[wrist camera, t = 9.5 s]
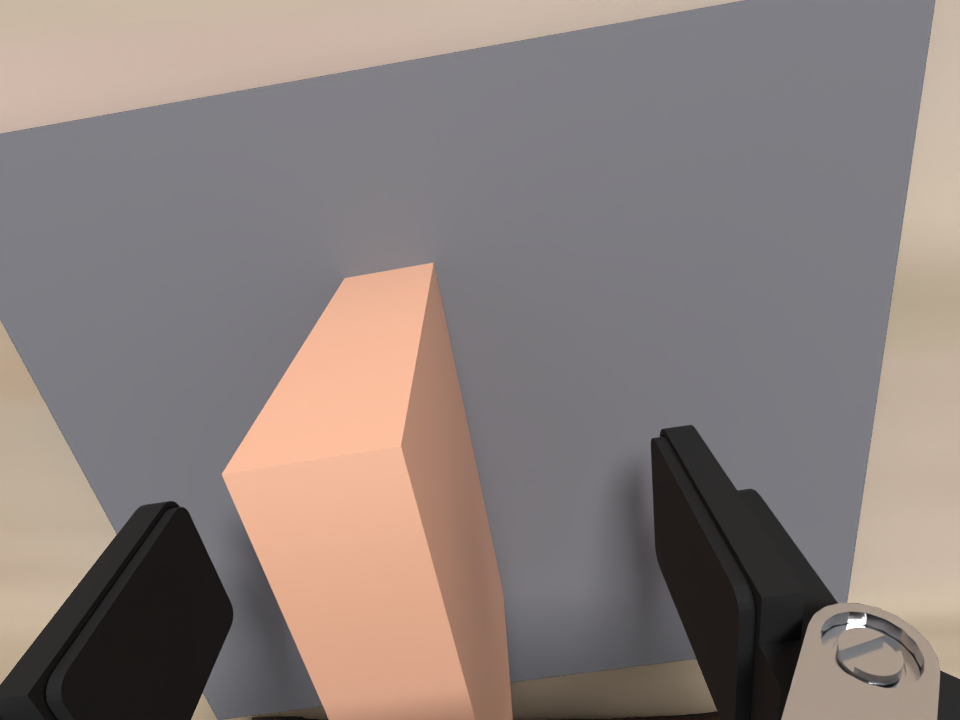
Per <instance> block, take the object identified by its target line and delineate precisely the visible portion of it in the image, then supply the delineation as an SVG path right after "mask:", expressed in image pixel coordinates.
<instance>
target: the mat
mask: <svg viewBox="0 0 960 720" xmlns="http://www.w3.org/2000/svg"><path fill="white" fill-rule="evenodd" d="M934 6H935V0H744V1H739V2H733V3H728V4H722V5H716V6H711V7H705V8H700V9H694V10H689V11H683V12H677V13H672V14H666V15H661V16H655V17H649V18H644V19H638V20H633V21H627V22H622V23H616V24H610V25H605V26H599V27H594V28H588V29H582V30H577V31H571V32H566V33H560V34H555V35H549V36H543V37H538V38H532V39H527V40H521V41H515V42H510V43H504V44H499V45H493V46H488V47H482V48H476V49H471V50H465V51H460V52H454V53H449V54H443V55H437V56H432V57H426V58H421V59H415V60H409V61H404V62H398V63H393V64H387V65H382V66H376V67H370V68H365V69H359V70H354V71H348V72H342V73H337V74H331V75H326V76H320V77H315V78H309V79H303V80H298V81H292V82H287V83H281V84H275V85H270V86H264V87H259V88H253V89H248V90H242V91H236V92H231V93H225V94H220V95H214V96H208V97H203V98H197V99H192V100H186V101H181V102H175V103H169V104H164V105H158V106H153V107H147V108H142V109H136V110H130V111H125V112H119V113H114V114H108V115H102V116H97V117H91V118H86V119H80V120H75V121H69V122H63V123H58V124H52V125H47V126H41V127H35V128H30V129H24V130H19V131H13V132H8V133H2V134H0V320H1V322H2V324H3V326H4V328H5V329H6V331H7V333H8V335H9V337H10V339H11V340H12V342H13V344H14V346H15V348H16V350H17V352H18V353H19V355H20V357H21V359H22V361H23V363H24V364H25V366H26V368H27V370H28V372H29V374H30V375H31V377H32V379H33V381H34V383H35V385H36V386H37V388H38V390H39V392H40V394H41V396H42V398H43V399H44V401H45V403H46V405H47V407H48V409H49V410H50V412H51V414H52V416H53V418H54V420H55V421H56V423H57V425H58V427H59V429H60V431H61V432H62V434H63V436H64V438H65V440H66V442H67V443H68V445H69V447H70V449H71V451H72V453H73V455H74V456H75V458H76V460H77V462H78V464H79V466H80V467H81V469H82V471H83V473H84V475H85V477H86V478H87V480H88V482H89V484H90V486H91V488H92V489H93V491H94V493H95V495H96V497H97V499H98V501H99V502H100V504H101V506H102V508H103V510H104V512H105V513H106V515H107V517H108V519H109V521H110V523H111V524H112V526H113V528H114V530H115V532H116V534H118V533H119V531H120V530H121V529H122V528H123V526H124V525H125V524H126V522H127V521H128V520H129V519H130V517H131V516H132V515H133V513H134V512H135V511H136V510H137V509H138V508H139V507H140V506H142V505H147V504H153V503H160V502H167V501H174V502H176V503H177V504H178V505H179V506H180V507H184V508H186V509H187V510H188V512H189V514H190V516H191V518H192V520H193V522H194V524H195V527H196V529H197V531H198V533H199V535H200V537H201V539H202V542H203V544H204V546H205V548H206V550H207V552H208V554H209V557H210V559H211V561H212V563H213V565H214V567H215V569H216V572H217V574H218V576H219V578H220V580H221V582H222V584H223V587H224V589H225V591H226V593H227V595H228V597H229V599H230V602H231V604H232V607H233V622H232V625H231V628H230V630H229V633H228V635H227V637H226V639H225V642H224V644H223V646H222V649H221V651H220V653H219V656H218V658H217V660H216V663H215V665H214V667H213V669H212V672H211V674H210V676H209V679H208V681H207V683H206V686H205V688H204V690H203V694H204V696H205V697H206V699H207V701H208V703H209V705H210V707H211V708H212V710H213V712H214V714H215V716H216V718H217V719H218V720H222V719H229V718H237V717H245V716H253V715H261V714H268V713H276V712H284V711H292V710H300V709H307V708H315V707H323V705H322V703H321V700H320V698H319V696H318V694H317V691H316V689H315V687H314V684H313V682H312V680H311V678H310V675H309V673H308V671H307V668H306V666H305V664H304V662H303V659H302V657H301V655H300V652H299V650H298V648H297V646H296V643H295V641H294V639H293V636H292V634H291V632H290V630H289V627H288V625H287V623H286V620H285V618H284V616H283V614H282V611H281V609H280V607H279V604H278V602H277V600H276V598H275V595H274V593H273V591H272V588H271V586H270V584H269V582H268V579H267V577H266V575H265V572H264V570H263V568H262V566H261V563H260V561H259V559H258V556H257V554H256V552H255V550H254V547H253V545H252V543H251V540H250V538H249V536H248V534H247V531H246V529H245V527H244V524H243V522H242V520H241V518H240V515H239V513H238V511H237V509H236V506H235V504H234V502H233V499H232V497H231V495H230V493H229V490H228V488H227V486H226V483H225V481H224V479H223V477H222V473H223V471H224V470H225V468H226V467H227V465H228V463H229V462H230V460H231V459H232V457H233V455H234V454H235V452H236V451H237V449H238V447H239V446H240V444H241V443H242V441H243V439H244V438H245V436H246V435H247V433H248V431H249V430H250V428H251V427H252V425H253V423H254V422H255V420H256V419H257V417H258V415H259V414H260V412H261V411H262V409H263V408H264V406H265V404H266V403H267V401H268V400H269V398H270V396H271V395H272V393H273V392H274V390H275V388H276V387H277V385H278V384H279V382H280V380H281V379H282V377H283V376H284V374H285V372H286V371H287V369H288V368H289V366H290V364H291V363H292V361H293V360H294V358H295V357H296V355H297V353H298V352H299V350H300V349H301V347H302V345H303V344H304V342H305V341H306V339H307V337H308V336H309V334H310V333H311V331H312V329H313V328H314V326H315V325H316V323H317V321H318V320H319V318H320V317H321V315H322V313H323V312H324V310H325V309H326V307H327V306H328V304H329V302H330V301H331V299H332V298H333V296H334V294H335V293H336V291H337V290H338V288H339V286H340V285H341V283H342V282H343V280H344V278H349V277H354V276H360V275H366V274H371V273H377V272H383V271H389V270H394V269H400V268H406V267H411V266H417V265H423V264H429V263H434V267H435V271H436V276H437V281H438V286H439V290H440V295H441V300H442V305H443V309H444V314H445V319H446V324H447V328H448V333H449V338H450V343H451V347H452V352H453V357H454V362H455V366H456V371H457V376H458V381H459V385H460V390H461V395H462V400H463V404H464V409H465V414H466V419H467V423H468V428H469V433H470V438H471V442H472V447H473V452H474V457H475V461H476V466H477V471H478V476H479V480H480V485H481V490H482V495H483V499H484V504H485V509H486V514H487V518H488V523H489V528H490V533H491V537H492V542H493V547H494V551H495V556H496V561H497V566H498V570H499V575H500V580H501V585H502V589H503V595H504V609H505V622H506V635H507V648H508V662H509V675H510V682H518V681H526V680H534V679H541V678H549V677H557V676H565V675H573V674H580V673H588V672H596V671H604V670H612V669H619V668H627V667H635V666H643V665H651V664H658V663H666V662H674V661H682V660H690V659H696V656H695V654H694V651H693V649H692V646H691V644H690V641H689V639H688V636H687V634H686V631H685V629H684V627H683V624H682V622H681V619H680V617H679V614H678V612H677V609H676V607H675V604H674V602H673V599H672V597H671V594H670V592H669V589H668V587H667V584H666V582H665V579H664V577H663V575H662V572H661V570H660V567H659V564H658V560H657V556H656V551H655V535H654V511H653V488H652V464H651V439H652V438H657V437H660V431H661V430H662V429H665V428H672V427H678V426H685V425H693V426H694V427H695V428H696V430H697V431H698V433H699V434H700V436H701V437H702V439H703V440H704V442H705V443H706V445H707V446H708V448H709V449H710V451H711V452H712V454H713V455H714V457H715V458H716V460H717V461H718V463H719V464H720V466H721V467H722V469H723V470H724V472H725V473H726V474H727V476H728V477H729V479H730V480H731V482H732V483H733V485H734V486H735V488H736V489H737V490H744V489H753V490H755V491H757V492H758V494H759V495H760V496H761V497H762V498H763V500H764V501H765V502H766V504H767V505H768V507H769V508H770V509H771V511H772V512H773V514H774V515H775V516H776V518H777V519H778V521H779V522H780V523H781V525H782V526H783V527H784V529H785V530H786V532H787V533H788V534H789V536H790V537H791V539H792V540H793V541H794V543H795V544H796V545H797V547H798V548H799V550H800V551H801V552H802V554H803V555H804V557H805V558H806V559H807V561H808V562H809V564H810V565H811V566H812V568H813V569H814V570H815V572H816V573H817V575H818V576H819V577H820V579H821V580H822V582H823V583H824V584H825V586H826V587H827V589H828V590H829V591H830V593H831V594H832V595H833V597H834V598H835V600H836V601H837V602H838V603H847V600H848V593H849V586H850V579H851V572H852V566H853V559H854V552H855V545H856V538H857V531H858V525H859V518H860V511H861V504H862V497H863V490H864V484H865V477H866V470H867V463H868V456H869V450H870V443H871V436H872V429H873V422H874V415H875V409H876V402H877V395H878V388H879V381H880V375H881V368H882V361H883V354H884V347H885V340H886V334H887V327H888V320H889V313H890V306H891V300H892V293H893V286H894V279H895V272H896V265H897V259H898V252H899V245H900V238H901V231H902V225H903V218H904V211H905V204H906V197H907V190H908V184H909V177H910V170H911V163H912V156H913V149H914V143H915V136H916V129H917V122H918V115H919V109H920V102H921V95H922V88H923V81H924V74H925V68H926V61H927V54H928V47H929V40H930V34H931V27H932V20H933V13H934Z"/></svg>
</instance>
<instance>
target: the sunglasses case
mask: <svg viewBox="0 0 960 720" xmlns="http://www.w3.org/2000/svg"><path fill="white" fill-rule="evenodd" d="M252 720H317V719H307V718H303V717H279V718H267V719H260V718H252ZM568 720H721V718H720V716H719V713H718V712H711V713H703V714H691V715H679V716H654V717H634V718H612V719H568Z"/></svg>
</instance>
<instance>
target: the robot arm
mask: <svg viewBox="0 0 960 720" xmlns="http://www.w3.org/2000/svg"><path fill="white" fill-rule="evenodd" d="M651 464H652V488H653V511H654V535H655V551H656V556H657V560H658V564H659V567H660V570H661V572H662V575H663V577H664V579H665V582H666V584H667V587H668V589H669V592H670V594H671V597H672V599H673V602H674V604H675V607H676V609H677V612H678V614H679V617H680V619H681V622H682V624H683V627H684V629H685V631H686V634H687V636H688V639H689V641H690V644H691V646H692V649H693V651H694V654H695V656H696V659H697V661H698V664H699V666H700V669H701V671H702V674H703V676H704V679H705V681H706V683H707V686H708V688H709V691H710V693H711V696H712V698H713V701H714V703H715V706H716V708H717V711H718V713H719V716H720V718H721V720H960V679H958V678H956V677H954V676H951V675H949V674H947V673H944V672H942V671H940V668H939V662H938V657H937V655H936V654H935V652H934V650H933V648H932V647H931V645H930V643H929V642H928V641H927V640H926V639H925V638H924V637H923V636H922V635H921V634H920V633H919V632H918V631H917V630H916V629H915V628H914V627H913V626H911V625H910V624H908V623H907V622H905V621H904V620H902V619H901V618H899V617H898V616H896V615H894V614H891V613H889V612H887V611H884V610H882V609H880V608H877V607H873V606H868V605H864V604H859V603H838V602H837V601H836V600H835V598H834V597H833V595H832V594H831V593H830V591H829V590H828V589H827V587H826V586H825V584H824V583H823V582H822V580H821V579H820V577H819V576H818V575H817V573H816V572H815V570H814V569H813V568H812V566H811V565H810V564H809V562H808V561H807V559H806V558H805V557H804V555H803V554H802V552H801V551H800V550H799V548H798V547H797V545H796V544H795V543H794V541H793V540H792V539H791V537H790V536H789V534H788V533H787V532H786V530H785V529H784V527H783V526H782V525H781V523H780V522H779V521H778V519H777V518H776V516H775V515H774V514H773V512H772V511H771V509H770V508H769V507H768V505H767V504H766V502H765V501H764V500H763V498H762V497H761V496H760V495H759V494H758V492H757V491H755V490H753V489H744V490H737V489H736V488H735V486H734V485H733V483H732V482H731V480H730V479H729V477H728V476H727V474H726V473H725V472H724V470H723V469H722V467H721V466H720V464H719V463H718V461H717V460H716V458H715V457H714V455H713V454H712V452H711V451H710V449H709V448H708V446H707V445H706V443H705V442H704V440H703V439H702V437H701V436H700V434H699V433H698V431H697V430H696V428H695V427H694V426H693V425H685V426H678V427H672V428H665V429H662V430H661V431H660V437H657V438H652V439H651ZM232 622H233V607H232V604H231V602H230V599H229V597H228V595H227V593H226V591H225V589H224V587H223V584H222V582H221V580H220V578H219V576H218V574H217V572H216V569H215V567H214V565H213V563H212V561H211V559H210V557H209V554H208V552H207V550H206V548H205V546H204V544H203V542H202V539H201V537H200V535H199V533H198V531H197V529H196V527H195V524H194V522H193V520H192V518H191V516H190V514H189V512H188V510H187V509H186V508H184V507H180V506H179V505H178V504H177V503H176V502H174V501H167V502H160V503H153V504H147V505H142V506H140V507H139V508H138V509H137V510H136V511H135V512H134V513H133V515H132V516H131V517H130V519H129V520H128V521H127V522H126V524H125V525H124V526H123V528H122V529H121V530H120V531H119V533H118V534H117V535H116V537H115V538H114V539H113V540H112V542H111V543H110V544H109V546H108V547H107V548H106V550H105V551H104V552H103V553H102V555H101V556H100V557H99V559H98V560H97V561H96V562H95V564H94V565H93V566H92V568H91V569H90V570H89V571H88V573H87V574H86V575H85V577H84V578H83V579H82V580H81V582H80V583H79V584H78V586H77V587H76V588H75V589H74V591H73V592H72V593H71V595H70V596H69V597H68V598H67V600H66V601H65V602H64V604H63V605H62V606H61V607H60V609H59V610H58V611H57V613H56V614H55V615H54V617H53V618H52V619H51V620H50V622H49V623H48V624H47V626H46V627H45V628H44V629H43V631H42V632H41V633H40V635H39V636H38V637H37V638H36V640H35V641H34V642H33V644H32V645H31V646H30V647H29V649H28V650H27V651H26V653H25V654H24V655H23V656H22V658H21V659H20V660H19V662H18V663H17V664H16V665H15V667H14V668H13V669H12V671H11V672H10V673H9V675H8V676H7V677H6V678H5V680H4V681H3V682H2V684H1V685H0V720H191V718H192V716H193V713H194V711H195V709H196V706H197V704H198V702H199V699H200V697H201V695H202V693H203V690H204V688H205V686H206V683H207V681H208V679H209V676H210V674H211V672H212V669H213V667H214V665H215V663H216V660H217V658H218V656H219V653H220V651H221V649H222V646H223V644H224V642H225V639H226V637H227V635H228V633H229V630H230V628H231V625H232Z"/></svg>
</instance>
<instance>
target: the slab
mask: <svg viewBox="0 0 960 720" xmlns="http://www.w3.org/2000/svg"><path fill="white" fill-rule="evenodd" d="M222 477H223V479H224V481H225V483H226V486H227V488H228V490H229V493H230V495H231V497H232V499H233V502H234V504H235V506H236V509H237V511H238V513H239V515H240V518H241V520H242V522H243V524H244V527H245V529H246V531H247V534H248V536H249V538H250V540H251V543H252V545H253V547H254V550H255V552H256V554H257V556H258V559H259V561H260V563H261V566H262V568H263V570H264V572H265V575H266V577H267V579H268V582H269V584H270V586H271V588H272V591H273V593H274V595H275V598H276V600H277V602H278V604H279V607H280V609H281V611H282V614H283V616H284V618H285V620H286V623H287V625H288V627H289V630H290V632H291V634H292V636H293V639H294V641H295V643H296V646H297V648H298V650H299V652H300V655H301V657H302V659H303V662H304V664H305V666H306V668H307V671H308V673H309V675H310V678H311V680H312V682H313V684H314V687H315V689H316V691H317V694H318V696H319V698H320V700H321V703H322V705H323V707H324V710H325V712H326V714H327V716H328V719H329V720H513V715H512V702H511V688H510V675H509V662H508V648H507V635H506V622H505V609H504V595H503V589H502V585H501V580H500V575H499V570H498V566H497V561H496V556H495V551H494V547H493V542H492V537H491V533H490V528H489V523H488V518H487V514H486V509H485V504H484V499H483V495H482V490H481V485H480V480H479V476H478V471H477V466H476V461H475V457H474V452H473V447H472V442H471V438H470V433H469V428H468V423H467V419H466V414H465V409H464V404H463V400H462V395H461V390H460V385H459V381H458V376H457V371H456V366H455V362H454V357H453V352H452V347H451V343H450V338H449V333H448V328H447V324H446V319H445V314H444V309H443V305H442V300H441V295H440V290H439V286H438V281H437V276H436V271H435V267H434V263H429V264H423V265H417V266H411V267H406V268H400V269H394V270H389V271H383V272H377V273H371V274H366V275H360V276H354V277H349V278H344V280H343V282H342V283H341V285H340V286H339V288H338V290H337V291H336V293H335V294H334V296H333V298H332V299H331V301H330V302H329V304H328V306H327V307H326V309H325V310H324V312H323V313H322V315H321V317H320V318H319V320H318V321H317V323H316V325H315V326H314V328H313V329H312V331H311V333H310V334H309V336H308V337H307V339H306V341H305V342H304V344H303V345H302V347H301V349H300V350H299V352H298V353H297V355H296V357H295V358H294V360H293V361H292V363H291V364H290V366H289V368H288V369H287V371H286V372H285V374H284V376H283V377H282V379H281V380H280V382H279V384H278V385H277V387H276V388H275V390H274V392H273V393H272V395H271V396H270V398H269V400H268V401H267V403H266V404H265V406H264V408H263V409H262V411H261V412H260V414H259V415H258V417H257V419H256V420H255V422H254V423H253V425H252V427H251V428H250V430H249V431H248V433H247V435H246V436H245V438H244V439H243V441H242V443H241V444H240V446H239V447H238V449H237V451H236V452H235V454H234V455H233V457H232V459H231V460H230V462H229V463H228V465H227V467H226V468H225V470H224V471H223V473H222Z"/></svg>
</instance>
